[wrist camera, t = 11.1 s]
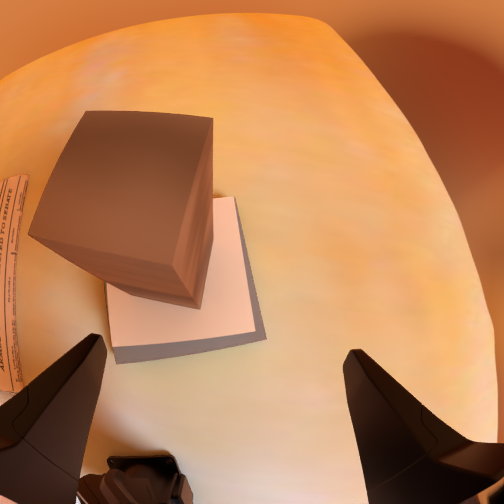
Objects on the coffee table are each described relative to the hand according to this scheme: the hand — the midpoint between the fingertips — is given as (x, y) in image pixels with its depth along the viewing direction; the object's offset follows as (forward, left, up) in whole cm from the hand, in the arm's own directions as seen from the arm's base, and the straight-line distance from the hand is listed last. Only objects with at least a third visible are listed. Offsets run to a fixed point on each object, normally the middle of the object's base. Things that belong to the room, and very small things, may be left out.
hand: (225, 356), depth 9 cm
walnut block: (-2, +6, -9) cm, 11 cm away
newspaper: (-24, +9, -14) cm, 29 cm away
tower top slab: (-2, +6, -12) cm, 13 cm away
